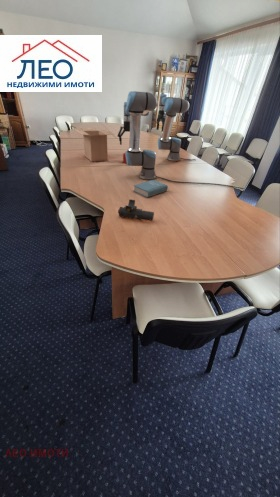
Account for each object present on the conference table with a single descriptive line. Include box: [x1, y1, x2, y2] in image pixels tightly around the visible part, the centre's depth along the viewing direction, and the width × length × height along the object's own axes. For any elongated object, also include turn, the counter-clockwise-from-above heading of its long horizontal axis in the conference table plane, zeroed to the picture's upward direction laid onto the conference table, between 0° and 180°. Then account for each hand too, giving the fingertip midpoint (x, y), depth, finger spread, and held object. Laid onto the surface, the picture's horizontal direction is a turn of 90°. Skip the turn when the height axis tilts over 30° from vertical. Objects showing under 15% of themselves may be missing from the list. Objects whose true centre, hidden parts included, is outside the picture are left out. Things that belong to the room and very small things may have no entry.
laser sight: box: [117, 199, 155, 222], centre depth 138 cm, size 10×22×10 cm, turn 78°
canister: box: [122, 152, 127, 164], centre depth 240 cm, size 8×8×9 cm
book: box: [133, 179, 169, 198], centre depth 177 cm, size 23×16×5 cm
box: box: [74, 128, 115, 162], centre depth 240 cm, size 44×36×27 cm
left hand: (126, 144), depth 229 cm, fingers open, 13 cm apart
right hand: (160, 130), depth 270 cm, fingers open, 13 cm apart
